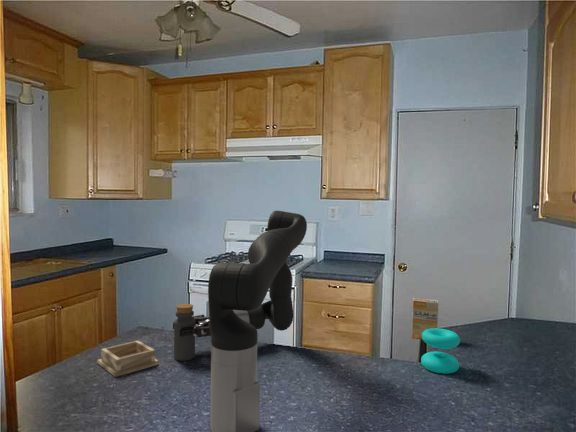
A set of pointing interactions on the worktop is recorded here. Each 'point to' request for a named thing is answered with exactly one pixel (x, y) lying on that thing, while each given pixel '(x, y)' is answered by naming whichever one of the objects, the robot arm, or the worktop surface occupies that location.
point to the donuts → (440, 360)
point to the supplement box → (423, 316)
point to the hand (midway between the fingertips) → (176, 329)
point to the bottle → (184, 344)
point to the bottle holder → (127, 358)
